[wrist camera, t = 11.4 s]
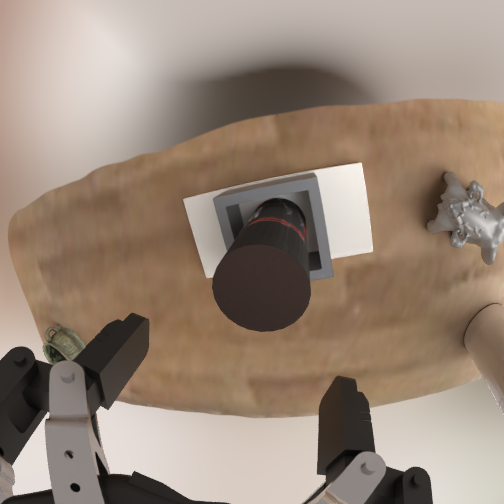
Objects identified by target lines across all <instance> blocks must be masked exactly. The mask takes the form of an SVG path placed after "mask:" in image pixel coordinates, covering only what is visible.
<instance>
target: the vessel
mask: <svg viewBox="0 0 504 504" xmlns="http://www.w3.org/2000/svg"><path fill="white" fill-rule="evenodd" d="M51 330H54V331H55V332H56V333H55V334H53V335H52V337H50V335H49V332H50V331H51ZM60 330H61V327H60V326H59V325H57V326H56V327H50V328H48V329H47V331H46V334H45V338H46V340H47V341H48V343H45V344H44V345H43V352H44V355H45V357H46V358H47V360H48V361H49V363H50V364H52V365H55V364H56V363H58V362H60V361H72V360H73V359H74V358H75V357H76V356H77V355H78V354H79V353H80V352H81V351H82V350H83V349H84V348H85V347H86V346H85V344H84V342H83V341H82V340H81V338H80V337H79V336H78V335H77V334H76V333H74V332H73V331H71V330H69V329H63V330H62V331H61V332H59V331H60Z"/></svg>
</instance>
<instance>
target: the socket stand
mask: <svg viewBox="0 0 504 504" xmlns="http://www.w3.org/2000/svg"><path fill="white" fill-rule="evenodd" d="M272 198H284V199H288V200H290V201H292V202H294V203H295V204H296V205H298V206H299V207H300V209H301V210H302V212H303V214H304V216H305V219H306V229H307V242H308V256H309V271H310V281H312V280H318V279H324V278H330V277H334V276H333V269H332V261H331V259H334V258H339V257H345V256H351V255H357V254H363V253H369V252H373V244H372V234H371V224H370V216H369V208H368V201H367V194H366V187H365V181H364V175H363V169H362V163H360V162H358V163H351V164H345V165H339V166H332V167H326V168H321V169H315V170H309V171H304V172H298V173H293V174H288V175H283V176H278V177H273V178H268V179H263V180H259V181H254V182H250V183H245V184H241V185H236V186H232V187H228V188H224V189H219V190H215V191H211V192H207V193H203V194H199V195H195V196H192V197H188V198H185V199H183V201H184V204H185V208H186V211H187V215H188V218H189V222H190V225H191V229H192V232H193V235H194V239H195V242H196V245H197V249H198V252H199V255H200V258H201V262H202V265H203V268H204V271H205V274H206V277H207V278H212V277H213V275H214V273H215V270H216V267H217V266H218V264H219V263H220V261H221V260H222V258H223V257H224V255H225V254H226V252H227V251H228V249H229V248H230V246H231V245H232V243H233V242H234V241H235V239H236V238H237V236H238V235H239V233H240V232H241V230H242V229H243V227H244V226H245V225H246V223H247V222H248V220H249V219H250V217H251V216H252V214H253V213H254V212H255V210H256V209H257V208H258V206H259V205H260V204H262V203H263V202H264V201H266V200H269V199H272Z"/></svg>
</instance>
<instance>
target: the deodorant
mask: <svg viewBox="0 0 504 504" xmlns="http://www.w3.org/2000/svg"><path fill="white" fill-rule="evenodd" d="M212 289H213V294H214V298H215V300H216V302H217V304H218V306H219V308H220V310H221V311H222V312H223V313H224V314H225V315H226V316H227V317H228V318H229V319H230V320H232V321H233V322H234V323H236V324H237V325H239V326H242V327H244V328H246V329H249V330H254V331H260V332H265V331H275V330H279V329H283V328H285V327H287V326H289V325H291V324H293V323H294V322H295V321H297V320H298V319H299V318H300V317H301V316H302V315H303V313H304V311H305V310H306V308H307V306H308V304H309V300H310V296H311V289H310V271H309V256H308V242H307V229H306V219H305V216H304V214H303V212H302V210H301V209H300V207H299V206H298V205H296V204H295V203H294V202H292V201H290V200H288V199H284V198H272V199H269V200H266V201H264V202H263V203H262V204H260V205H259V206H258V208H257V209H256V210H255V212H254V213H253V214H252V216H251V217H250V219H249V220H248V222H247V223H246V225H245V226H244V227H243V229H242V230H241V232H240V233H239V235H238V236H237V238H236V239H235V241H234V242H233V243H232V245H231V246H230V248H229V249H228V251H227V252H226V254H225V255H224V257H223V258H222V260H221V261H220V263H219V264H218V266H217V267H216V270H215V273H214V275H213V284H212Z"/></svg>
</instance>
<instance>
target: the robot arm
mask: <svg viewBox="0 0 504 504" xmlns="http://www.w3.org/2000/svg"><path fill="white" fill-rule="evenodd" d="M464 345H465V347H466V349H467V350H468V352H469V354H470V355H471V357H472V359H473V360H474V362H475V364H476V366H477V367H478V369H479V371H480V373H481V374H482V376H483V378H484V380H485V381H486V383H487V385H488V387H489V389H490V391H491V393H492V395H493V397H494V399H495V401H496V403H497V405H498V407H499V409H500V411H501V413H502V415H503V417H504V307H503V306H502V305H500V304H492V305H489V306H487V307H485V308H484V309H483V310H481V311H480V312H479V313H478V314H477V315H476V316H475V317H474V318H473V320H472V321H471V323H470V324H469V326H468V328H467V330H466V333H465V336H464ZM148 348H149V319H147V318H145V317H142V316H140V315H137V314H135V313H131V314H129V315H128V317H127V318H126V319H125V320H124V321H121V320H119V319H118V320H115V321H113V322H111V323H109V324H107V325H106V326H105V327H104V328H103V329H102V330H101V332H100V333H98V334H97V335H96V336H95V339H93V340H92V341H91V342H90V343H89V344H88V345H87V346H86V347H85V348H84V349H83V350H82V351H81V352H80V353H79V354H78V355H77V356H76V357H75V358H74V359H73V360H72V361H60V362H58V363H56V364H55V365H52V364H48V363H45V362H42V361H39V360H36V359H35V356H34V353H33V352H32V351H31V350H30V349H29V348H26V347H15V348H13V349H11V350H10V351H9V352H8V353H7V354H6V355H5V356H4V357H3V358H2V359H1V360H0V504H229V503H223V502H222V503H221V502H204V501H194V500H190V499H188V498H186V497H184V496H183V495H181V494H179V493H178V492H176V491H175V490H173V489H171V488H170V487H168V486H167V485H165V484H163V483H161V482H159V481H156V480H154V479H151V478H149V477H147V476H144V475H142V474H140V473H138V472H135V471H134V472H133V474H132V476H130V475H124V474H110V471H109V467H108V464H107V461H106V458H105V455H104V451H103V447H102V442H101V438H100V432H99V426H98V421H97V414H96V411H97V410H98V408H99V407H100V406H102V407H104V408H105V409H107V410H109V408H110V407H111V406H112V404H113V403H114V401H115V400H116V398H117V397H118V395H119V394H120V392H121V391H122V390H123V388H124V387H125V385H126V384H127V382H128V381H129V379H130V378H131V377H132V375H133V374H134V372H135V371H136V369H137V368H138V367H139V365H140V364H141V362H142V361H143V360H144V358H145V356H146V354H147V352H148ZM47 412H50V416H49V419H46V421H45V436H46V449H47V458H48V466H49V474H50V480H51V486H52V489H49V490H44V491H39V492H34V493H28V494H24V495H23V494H22V495H16V496H13V493H12V485H14V483H15V479H14V470H13V468H12V465H13V463H14V462H15V460H16V458H17V457H18V455H19V454H20V452H21V451H22V449H23V447H24V446H25V444H26V443H27V441H28V440H29V438H30V437H31V435H32V434H33V432H34V431H35V429H36V428H37V426H38V425H39V424H40V422H41V421H42V419H43V418H44V416H45V415H46V414H47ZM318 434H319V435H318V462H317V474H319V475H326V481H325V482H324V483H323V484H322V485H321V486H320V487H319V488H318V489H317V490H316V491H315V492H314V493H313V494H311V495H310V496H309V497H308V498H307V499H306V500H305V501H304V502H303V503H302V504H433V501H432V490H431V482H430V477H429V475H428V473H427V472H426V471H425V470H424V469H422V468H420V467H411V468H409V469H408V470H406V471H405V472H403V471H399V470H396V469H392V468H390V467H387V466H386V465H385V462H384V460H383V459H382V458H381V457H380V456H379V455H378V454H376V453H375V445H374V437H373V429H372V423H371V416H370V409H369V402H368V400H367V399H366V397H365V395H364V394H363V392H357V385H356V380H355V379H353V378H347V377H342V376H337V377H336V378H335V379H334V381H333V382H332V384H331V386H330V387H329V389H328V390H327V392H326V393H325V395H324V396H323V398H322V400H321V403H320V406H319V433H318Z"/></svg>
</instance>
